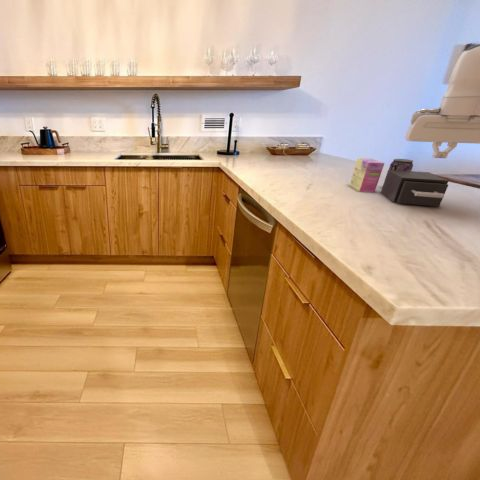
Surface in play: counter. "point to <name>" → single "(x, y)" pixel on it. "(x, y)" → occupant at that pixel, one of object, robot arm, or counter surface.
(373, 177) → the box
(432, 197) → the basket
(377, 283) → the counter surface
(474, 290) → the counter surface
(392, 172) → the fryer
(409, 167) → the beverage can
